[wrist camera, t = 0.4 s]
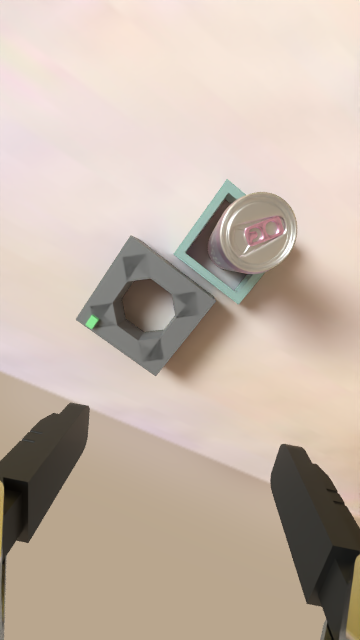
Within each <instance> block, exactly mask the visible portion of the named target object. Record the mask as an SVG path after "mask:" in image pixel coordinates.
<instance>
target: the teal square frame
mask: <svg viewBox="0 0 360 640" xmlns="http://www.w3.org/2000/svg"><path fill="white" fill-rule="evenodd" d="M245 195H246V194H244V193H243V192H242V191H241V190H240V189H238V188H237V187H236V186H235V185H234V184H232V183H231V182H230V181H229V180H228V179H227V180H226V181H225V183H224V184H223V186H222V187H221V188H220V190H219V191H218V193H217V194H216V195H215V197H214V198H213V200H212V201H211V202H210V204H209V205H208V207H207V208H206V209H205V211H204V212H203V214H202V215H201V216H200V218H199V219H198V221H197V222H196V223H195V225H194V226H193V228H192V229H191V230H190V232H189V233H188V235H187V236H186V237H185V239H184V240H183V242H182V243H181V244H180V246H179V247H178V249H177V250H176V251H175V253H174V255H175V256H176V257H178V258H179V259H180V260H182V261H183V262H184V263H185V264H187V265H188V266H189V267H191V268H192V269H193V270H194V271H196V272H197V273H198V274H200V275H201V276H202V277H203V278H205V279H206V280H207V281H209V282H210V283H211V284H213V285H214V286H215V287H216V288H218V289H219V290H220V291H222V292H223V293H224V294H225V295H227V296H228V297H229V298H231V299H232V300H233V301H234V302H236V303H237V304H239V303H240V302H241V301H242V300H243V298H244V297H245V296H246V295H247V294H248V292H249V291H250V290H251V289H252V288H253V286H254V285H255V284H256V283H257V282H258V280H259V279H260V278H261V277H262V276H263V274H264V273H265V272H263V273H259V274H247V275H246V277H245V278H244V279H243V280H242V281H241V283H240V284H239V285H238V286H237V288H236V289H235V290H234V291H233V290H232V289H231V288H230V287H228V286H227V285H226V284H224V283H223V282H222V281H221V280H219V279H218V278H217V277H215V276H214V275H213V274H212V273H210V272H209V271H208V270H206V269H205V268H204V267H203V266H201V265H200V264H199V263H197V262H196V261H195V260H194V259H192V258H191V257H190V256H189V255H187V254H186V252H187V251H188V250H189V248H190V247H191V245H192V244H193V243H194V241H195V240H196V239H197V237H198V236H199V234H200V233H201V232H202V230H203V229H204V228H205V226H206V225H207V223H208V222H209V221H210V219H211V218H212V217H213V215H214V214H215V212H216V211H217V210H218V208H219V207H220V206H221V204H222V203H223V201H224V200H225V199H226V200H227V201H228V202H229V203H231V204H232V203H233V202H234V201H235V200H237V199H239V198H241V197H243V196H245Z"/></svg>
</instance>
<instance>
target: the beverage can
mask: <svg viewBox="0 0 360 640" xmlns="http://www.w3.org/2000/svg"><path fill="white" fill-rule="evenodd" d="M296 237H297V221H296V217H295V214H294V212H293V210H292V209H291V207H290V206H289V204H288V203H287V202H286V201H285V200H283V199H282V198H281V197H279V196H277V195H275V194H272V193H267V192H257V193H252V194H248V195H245V196H243V197H241V198H239V199H237V200H235V201H234V202H233V203H232V204H230V205H229V206H228V207H227V209H226V210H225V211H224V213H223V214H222V216H221V218H220V219H219V221H218V223H217V225H216V226H215V228H214V230H213V232H212V234H211V235H210V237H209V240H208V247H207V248H208V254H209V257H210V259H211V260H212V262H213V263H214V264H215V265H216V266H218V267H220V268H222V269H225V270H230V271H235V272H240V273H246V274H259V273H263V272H266V271H268V270H270V269H272V268H274V267H276V266H277V265H279V264H280V263H281V262H282V261H283V260H285V258H286V257H287V256H288V255H289V253H290V252H291V250H292V248H293V246H294V244H295V241H296Z"/></svg>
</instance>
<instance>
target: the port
mask: <svg viewBox="0 0 360 640" xmlns="http://www.w3.org/2000/svg"><path fill="white" fill-rule="evenodd" d="M150 278H151V279H152V280H153V281H155V282H156V283H157V284H159V285H160V286H161V287H163V288H164V289H165V290H166V291H168V292H169V293H170V294H172V297H173V303H174V310H175V316H174V318H173V319H172V320H171V321H170V323H169V324H168V325H167V327H166V328H165V329H164V330H158V331H150V332H143V331H142V330H141V329H139V328H138V327H136V326H135V325H134V324H132V323H131V322H130V321H128V320H127V319H126V318H125V313H124V308H123V303H122V297H123V296H124V294H125V293H126V291H127V290H128V289H129V287H130V286H131V284H132V283H133V281H136V280H143V279H150ZM215 302H216V300H215V298H214V297H213V296H212V295H211V294H210V293H208V292H207V291H206V290H204V289H203V288H202V287H200V286H199V285H198V284H196V283H195V282H194V281H193V280H191V279H190V278H189V277H187V276H186V275H185V274H183V273H182V272H181V271H180V270H178V269H177V268H176V267H174V266H173V265H172V264H170V263H169V262H168V261H167V260H165V259H164V258H163V257H161V256H160V255H159V254H157V253H156V252H155V251H154V250H152V249H151V248H150V247H148V246H147V245H146V244H144V243H143V242H142V241H141V240H139V239H138V238H135V237H133V236H130V237H129V239H128V240H127V242H126V243H125V245H124V246H123V248H122V249H121V251H120V253H119V254H118V256H117V257H116V259H115V260H114V262H113V263H112V265H111V266H110V268H109V269H108V271H107V272H106V274H105V275H104V277H103V278H102V280H101V281H100V283H99V285H98V286H97V288H96V289H95V291H94V292H93V294H92V295H91V297H90V298H89V300H88V301H87V303H86V304H85V306H84V307H83V309H82V310H81V312H80V314H79V315H78V317H77V318H76V320H77V321H79V322H80V323H81V324H83V325H84V326H86V327H87V328H88V329H90V330H91V331H93V332H94V333H95V334H97V335H98V336H100V337H101V338H102V339H104V340H105V341H107V342H108V343H110V344H111V345H112V346H114V347H115V348H117V349H118V350H119V351H121V352H122V353H124V354H125V355H126V356H128V357H129V358H131V359H132V360H133V361H135V362H136V363H138V364H139V365H140V366H142V367H143V368H145V369H146V370H148V371H149V372H150V373H152V374H153V375H155V376H156V375H157V374H158V373H159V372H160V370H161V369H162V368H163V367H164V365H165V364H166V363H167V362H168V360H169V359H170V358H171V357H172V355H173V354H174V353H175V352H176V350H177V349H178V348H179V347H180V346H181V344H182V343H183V342H184V341H185V339H186V338H187V337H188V336H189V334H190V333H191V332H192V331H193V329H194V328H195V327H196V326H197V324H198V323H199V322H200V321H201V319H202V318H203V317H204V316H205V314H206V313H207V312H208V311H209V309H210V308H211V307H212V306H213V304H214V303H215Z"/></svg>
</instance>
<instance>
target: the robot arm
mask: <svg viewBox="0 0 360 640" xmlns="http://www.w3.org/2000/svg"><path fill="white" fill-rule="evenodd" d="M89 410H90V409H89V406H86V405H80V404H75V403H69V404H68V405H67V406H66V408H65V409H64V410H63V411H62V412H61V413H60V414H56V413H53V414H51V415H49V416H47V417H46V418H44V419H42V420H40V421H39V422H38V423H37V424H36V425H35V426H34V427H33V428H32V429H31V431H30V432H28V433H27V435H26V436H25V437H24V438H23V439H22V441H20V442H19V443H18V444H17V445H16V446H15V447H14V448H13V449H12V450H11V451H10V452H9V453H8V454H7V455H6V456H5V457H4V458H3V459H2V460H1V461H0V640H4V623H5V587H6V555H7V553H8V552H9V551H10V549H11V548H12V546H13V544H14V543H15V541H16V540H17V541H22V542H26V543H29V541H30V539H31V538H32V536H33V534H34V533H35V531H36V529H37V528H38V526H39V524H40V523H41V521H42V519H43V517H44V516H45V514H46V513H47V511H48V509H49V508H50V506H51V504H52V503H53V501H54V499H55V498H56V496H57V494H58V493H59V490H60V489H61V488H62V486H63V484H64V483H65V481H66V479H67V478H68V476H69V474H70V473H71V471H72V469H73V468H74V466H75V464H76V463H77V461H78V459H79V458H80V456H81V454H82V453H83V450H84V448H85V445H86V442H87V437H88V424H89ZM271 490H272V493H273V497H274V500H275V503H276V507H277V510H278V513H279V516H280V519H281V523H282V526H283V529H284V532H285V535H286V538H287V541H288V545H289V548H290V551H291V554H292V558H293V561H294V564H295V567H296V570H297V573H298V577H299V580H300V583H301V586H302V590H303V593H304V596H305V599H306V602H307V604H312V605H316V606H321V607H323V611H324V613H325V616H326V620H325V622H324V625H323V630H322V635H321V640H360V528H359V526H358V525H357V523H356V521H355V520H354V518H353V516H352V515H351V513H350V511H349V510H348V508H347V506H345V505H344V501H343V500H342V498H341V496H340V495H339V494H338V493H337V490H336V488H335V486H334V484H333V483H332V481H331V479H330V478H329V476H328V475H327V474H326V473H325V472H324V471H323V470H322V469H321V468H320V467H319V466H318V465H317V464H312V462H311V460H310V458H309V457H308V455H307V453H306V451H305V450H304V449H303V448H302V447H298V446H292V445H287V444H282V445H281V446H280V448H279V451H278V454H277V457H276V460H275V464H274V467H273V470H272V473H271Z"/></svg>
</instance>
